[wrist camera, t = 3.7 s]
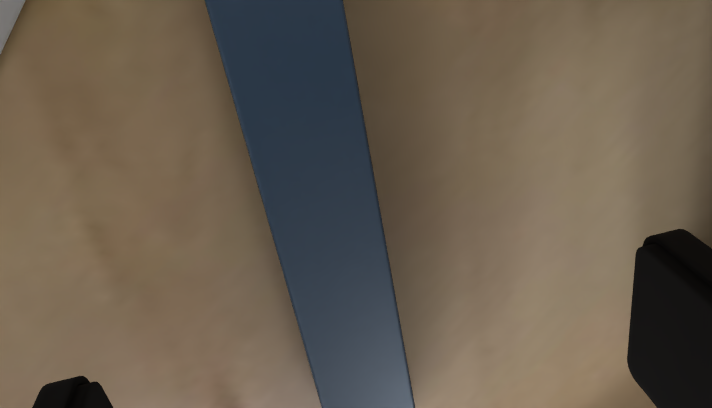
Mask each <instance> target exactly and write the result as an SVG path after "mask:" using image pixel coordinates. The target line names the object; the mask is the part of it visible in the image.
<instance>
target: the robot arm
mask: <svg viewBox="0 0 712 408" xmlns="http://www.w3.org/2000/svg"><path fill="white" fill-rule="evenodd" d="M627 362H628V367H629V370H630V372H631V374H632V376H633V378H634V379H635V381H636V382H637V383H638V385H639V386H640V387H641V388H642V389H643V391H644V392H645V393H646V394H647V396H648V397H649V398H650V399H651V400H652V402H653V403H654V404H655V405H656V407H657V408H712V249H711V248H710V247H709V246H707V245H706V244H704V243H703V242H702V241H700V240H699V239H698V238H696V237H695V236H694V235H692V234H691V233H690V232H688V231H686V230H684V229H677V230H673V231H669V232H665V233H661V234H657V235H652V236H649V237H647V238H646V239H645V241H644V243H643V247H640V248H638V250H637V252H636V258H635V271H634V283H633V295H632V307H631V319H630V332H629V344H628V356H627ZM32 408H113V406H112V405H111V403H110V401H109V399H108V397H107V395H106V394H105V392H104V390H103V388H102V386H101V385H100V384H99V383H98V382H91V383H90V382H89V380H88V379H87V378H85V377H84V376H78V377H74V378H70V379H66V380H62V381H57V382H53V383H49V384H46V385H45V386H43V387H42V389H41V390H40V392H39V394H38V396H37V398H36V401H35V403H34V405H33V407H32Z"/></svg>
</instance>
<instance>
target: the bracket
mask: <svg viewBox="0 0 712 408" xmlns="http://www.w3.org/2000/svg"><path fill="white" fill-rule="evenodd" d="M25 1H26V0H0V54H1V52H2V50H3V48H4V45H5V43H6V41H7V39H8V37H9V35H10V33H11V30H12V28H13V26H14V24H15V22H16V20H17V18H18V16H19V13H20V11H21V9H22V7H23V5H24V3H25Z"/></svg>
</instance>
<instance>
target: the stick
mask: <svg viewBox="0 0 712 408" xmlns="http://www.w3.org/2000/svg"><path fill="white" fill-rule="evenodd" d="M205 4H206V7H207V10H208V14H209V17H210V21H211V24H212V28H213V31H214V35H215V38H216V42H217V45H218V49H219V52H220V56H221V59H222V63H223V66H224V70H225V73H226V76H227V80H228V83H229V87H230V90H231V94H232V97H233V101H234V104H235V108H236V111H237V115H238V118H239V122H240V125H241V129H242V132H243V135H244V139H245V142H246V146H247V149H248V153H249V156H250V160H251V163H252V167H253V170H254V174H255V177H256V181H257V184H258V188H259V191H260V194H261V198H262V201H263V205H264V208H265V212H266V215H267V219H268V222H269V226H270V229H271V233H272V236H273V240H274V243H275V247H276V250H277V254H278V257H279V260H280V264H281V267H282V271H283V274H284V278H285V281H286V285H287V288H288V292H289V295H290V299H291V302H292V306H293V309H294V313H295V316H296V319H297V323H298V326H299V330H300V333H301V337H302V340H303V344H304V347H305V351H306V354H307V358H308V361H309V365H310V368H311V372H312V375H313V379H314V382H315V385H316V389H317V392H318V396H319V399H320V403H321V406H322V408H415V404H414V398H413V393H412V387H411V381H410V376H409V370H408V365H407V359H406V353H405V348H404V342H403V336H402V331H401V325H400V319H399V314H398V308H397V303H396V297H395V291H394V286H393V280H392V274H391V269H390V263H389V258H388V252H387V246H386V241H385V235H384V229H383V224H382V218H381V212H380V207H379V201H378V196H377V190H376V184H375V179H374V173H373V167H372V162H371V156H370V150H369V145H368V139H367V134H366V128H365V122H364V117H363V111H362V105H361V100H360V94H359V88H358V83H357V77H356V72H355V66H354V60H353V55H352V49H351V43H350V38H349V32H348V26H347V21H346V15H345V10H344V4H343V0H205Z"/></svg>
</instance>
